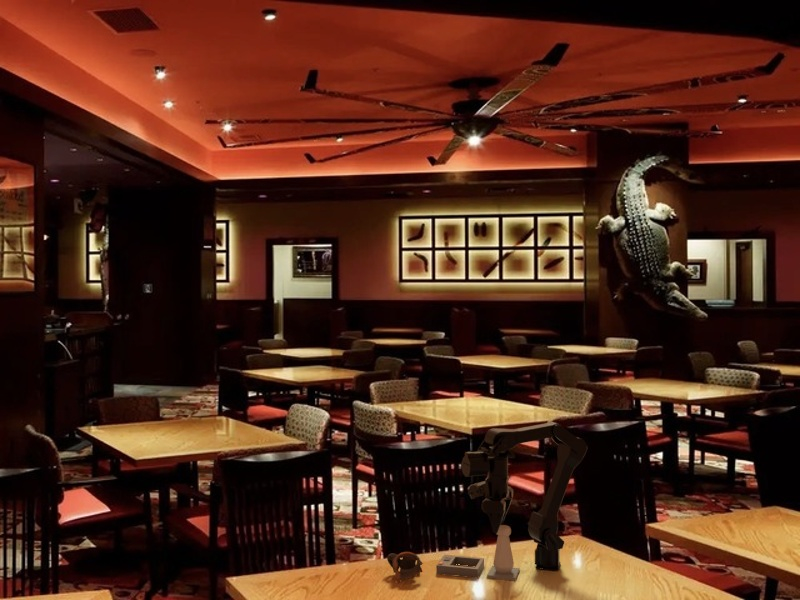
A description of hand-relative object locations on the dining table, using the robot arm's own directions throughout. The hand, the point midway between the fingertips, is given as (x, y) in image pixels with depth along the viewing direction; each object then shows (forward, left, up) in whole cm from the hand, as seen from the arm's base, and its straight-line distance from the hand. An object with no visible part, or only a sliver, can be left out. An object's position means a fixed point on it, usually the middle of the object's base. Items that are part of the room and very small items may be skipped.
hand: (498, 528), depth 226 cm
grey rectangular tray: (+11, 0, -13) cm, 17 cm away
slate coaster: (-2, 0, -13) cm, 13 cm away
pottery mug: (+25, +10, -13) cm, 30 cm away
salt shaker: (-2, 0, -13) cm, 13 cm away
